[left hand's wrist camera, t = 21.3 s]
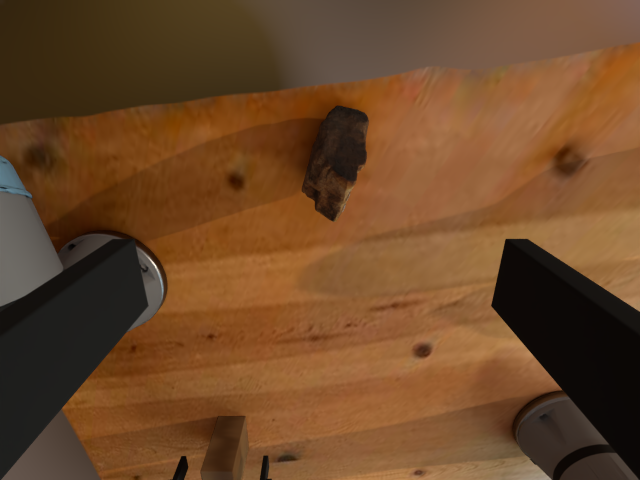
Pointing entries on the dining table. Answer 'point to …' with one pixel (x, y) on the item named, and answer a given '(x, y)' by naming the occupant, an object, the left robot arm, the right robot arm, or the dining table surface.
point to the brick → (227, 450)
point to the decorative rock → (336, 160)
